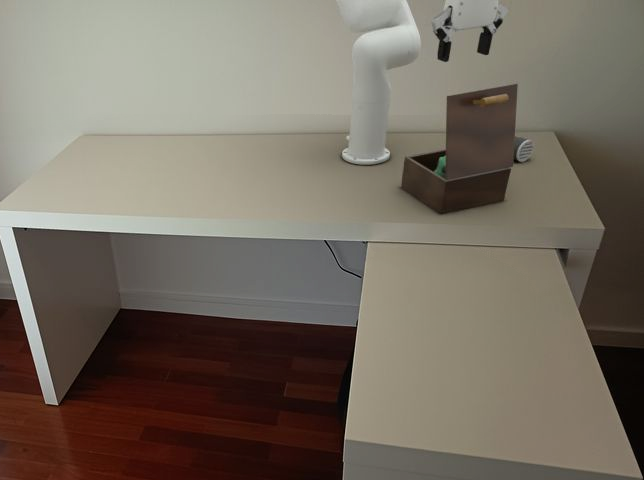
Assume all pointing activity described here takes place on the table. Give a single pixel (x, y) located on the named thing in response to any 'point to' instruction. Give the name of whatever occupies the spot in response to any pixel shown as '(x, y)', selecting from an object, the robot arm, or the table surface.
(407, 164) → the chest
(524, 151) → the flashlight
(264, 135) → the table surface
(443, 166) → the alien toy
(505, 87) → the lid
